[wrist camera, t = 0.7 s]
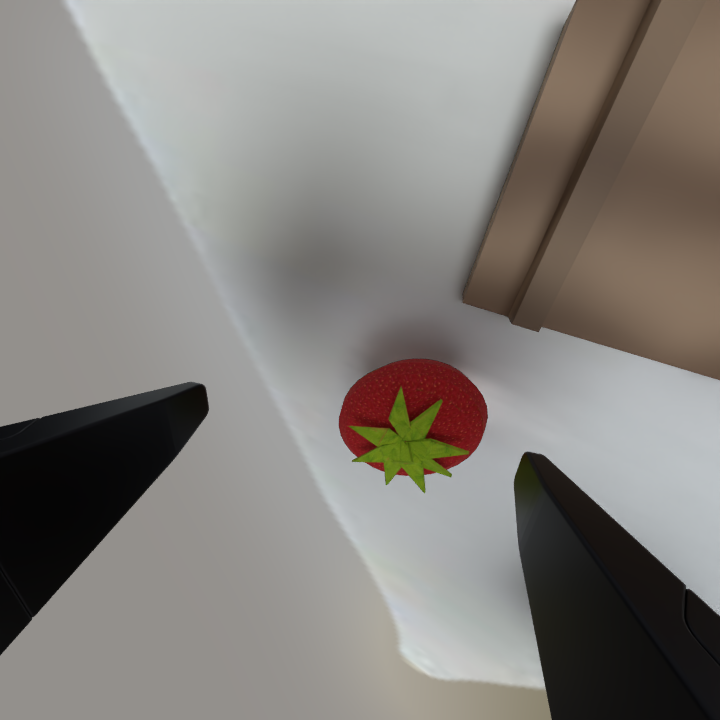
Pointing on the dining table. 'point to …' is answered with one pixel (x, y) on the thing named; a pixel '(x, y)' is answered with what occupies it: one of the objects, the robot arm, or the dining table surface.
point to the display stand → (618, 188)
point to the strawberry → (413, 419)
